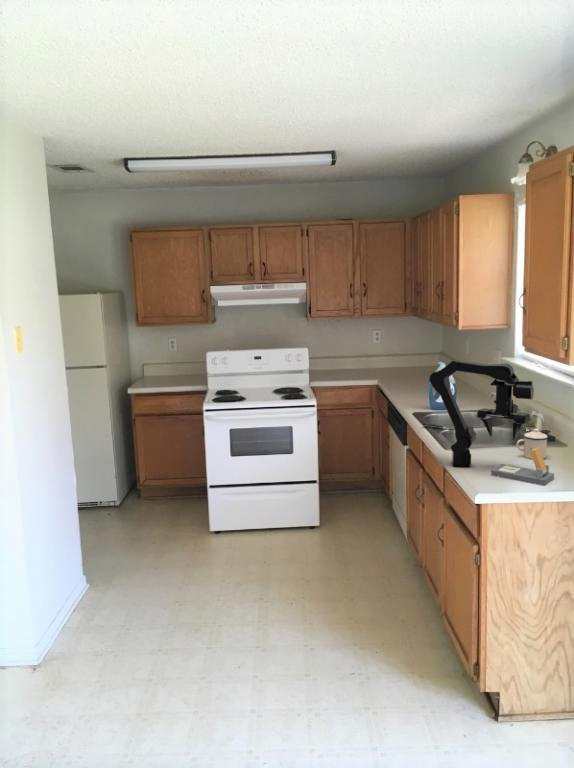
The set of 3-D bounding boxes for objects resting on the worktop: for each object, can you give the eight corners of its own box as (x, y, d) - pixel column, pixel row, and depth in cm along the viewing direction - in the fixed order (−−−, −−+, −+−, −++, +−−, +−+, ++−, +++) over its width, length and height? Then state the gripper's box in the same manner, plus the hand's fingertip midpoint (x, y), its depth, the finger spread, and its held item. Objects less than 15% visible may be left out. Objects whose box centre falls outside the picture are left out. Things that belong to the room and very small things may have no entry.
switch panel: (491, 475, 235) (491, 461, 235) (501, 468, 243) (502, 455, 242) (544, 485, 223) (545, 471, 222) (553, 478, 230) (554, 465, 229)
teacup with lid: (542, 453, 262) (544, 426, 260) (549, 460, 253) (551, 432, 251) (513, 453, 264) (514, 426, 262) (518, 459, 255) (520, 431, 253)
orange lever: (538, 476, 227) (529, 451, 227) (542, 473, 230) (534, 448, 231) (544, 475, 225) (535, 450, 226) (548, 472, 228) (539, 447, 229)
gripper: (536, 396, 236) (535, 437, 238) (489, 392, 248) (488, 430, 251) (524, 401, 228) (523, 443, 230) (476, 396, 240) (475, 435, 243)
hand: (502, 437), depth 239 cm, fingers open, 9 cm apart
